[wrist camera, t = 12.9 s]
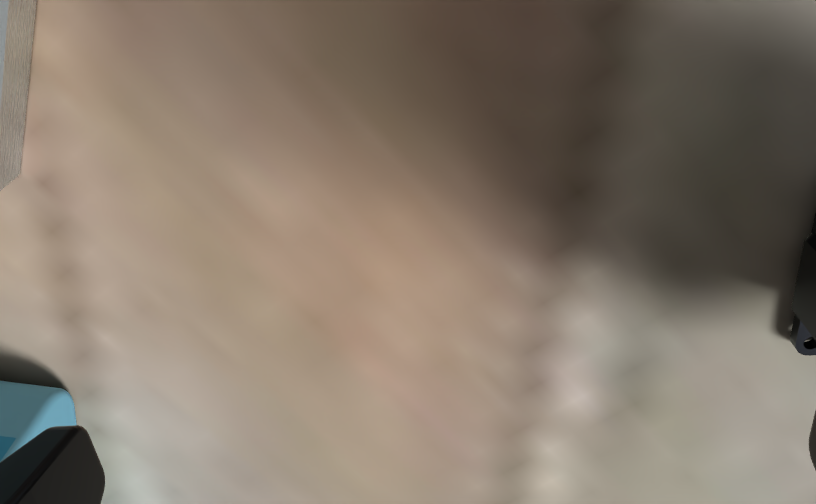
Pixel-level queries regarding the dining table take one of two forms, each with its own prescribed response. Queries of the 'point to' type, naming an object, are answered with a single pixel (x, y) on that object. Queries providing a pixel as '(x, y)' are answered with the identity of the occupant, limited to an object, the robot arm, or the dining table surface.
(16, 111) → the plate
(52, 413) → the blue printed box
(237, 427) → the dining table surface
